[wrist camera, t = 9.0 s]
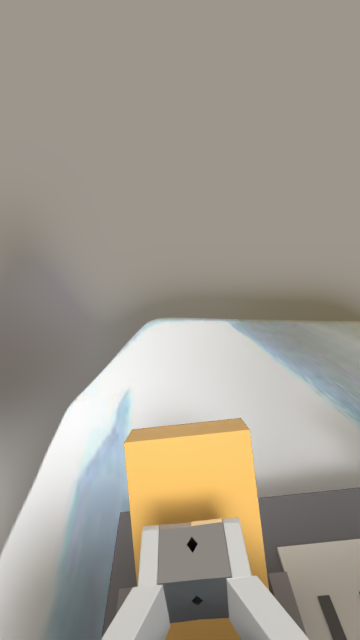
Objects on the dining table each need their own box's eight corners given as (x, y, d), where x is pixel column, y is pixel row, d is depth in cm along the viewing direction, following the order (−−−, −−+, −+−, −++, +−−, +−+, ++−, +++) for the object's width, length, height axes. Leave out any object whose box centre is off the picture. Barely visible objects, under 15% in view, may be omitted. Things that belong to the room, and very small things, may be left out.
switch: (262, 603, 14) (240, 418, 15) (275, 646, 12) (249, 429, 13) (149, 615, 14) (132, 429, 15) (143, 659, 12) (123, 442, 13)
